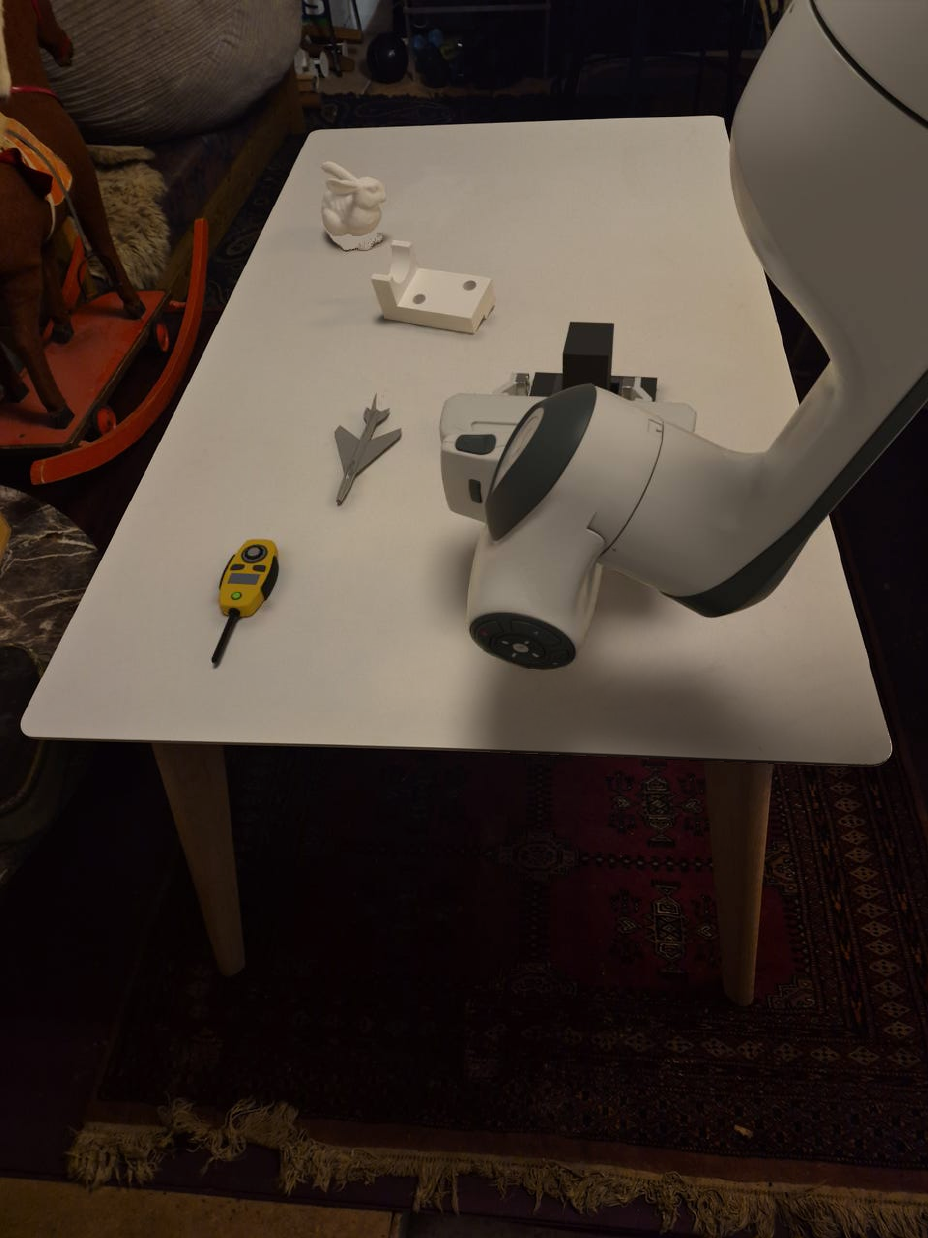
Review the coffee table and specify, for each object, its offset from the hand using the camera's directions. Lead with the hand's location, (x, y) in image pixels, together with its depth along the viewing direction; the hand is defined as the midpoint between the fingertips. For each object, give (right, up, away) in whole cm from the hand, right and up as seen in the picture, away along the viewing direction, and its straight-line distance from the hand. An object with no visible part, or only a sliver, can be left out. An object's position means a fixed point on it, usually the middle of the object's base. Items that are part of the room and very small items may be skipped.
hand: (575, 381), depth 73 cm
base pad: (+4, 0, +21) cm, 21 cm away
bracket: (-13, +19, +39) cm, 46 cm away
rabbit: (-25, +36, +55) cm, 71 cm away
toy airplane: (-21, -1, +22) cm, 30 cm away
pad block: (+4, +1, +20) cm, 20 cm away
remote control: (-30, -19, +7) cm, 37 cm away
